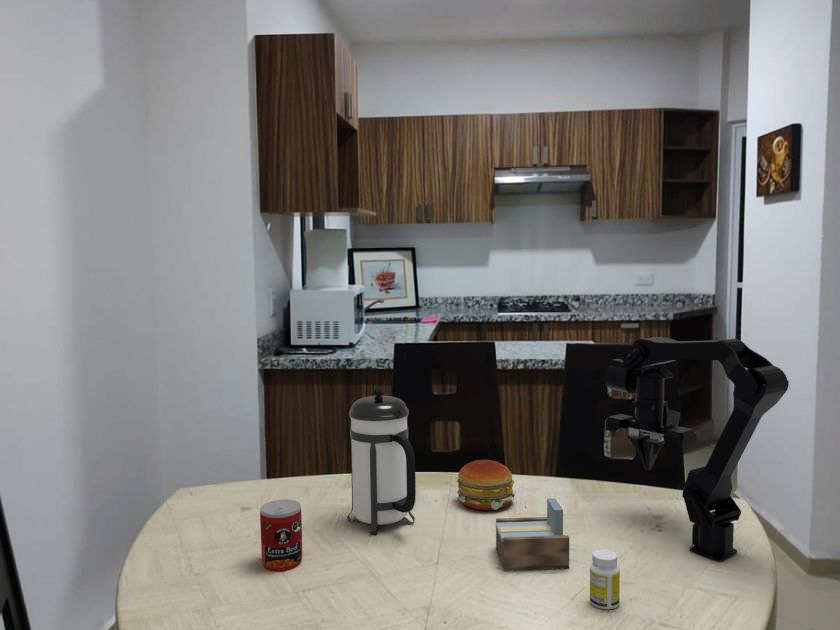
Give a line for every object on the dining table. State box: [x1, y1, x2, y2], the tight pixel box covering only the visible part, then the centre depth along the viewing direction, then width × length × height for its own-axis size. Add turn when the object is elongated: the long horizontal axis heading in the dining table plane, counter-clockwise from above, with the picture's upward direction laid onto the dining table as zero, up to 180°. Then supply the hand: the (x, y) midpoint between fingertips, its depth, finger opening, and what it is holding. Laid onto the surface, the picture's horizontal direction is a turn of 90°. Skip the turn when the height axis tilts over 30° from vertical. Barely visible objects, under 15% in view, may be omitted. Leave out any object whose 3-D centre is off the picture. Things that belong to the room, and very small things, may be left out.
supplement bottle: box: [589, 548, 621, 610], centre depth 114 cm, size 5×5×8 cm
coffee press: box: [346, 386, 417, 536], centre depth 147 cm, size 17×16×30 cm
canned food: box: [259, 498, 304, 572], centre depth 130 cm, size 8×8×11 cm
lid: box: [495, 497, 564, 543], centre depth 130 cm, size 12×7×6 cm, turn 93°
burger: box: [456, 459, 516, 511], centre depth 160 cm, size 14×14×10 cm
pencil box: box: [495, 516, 570, 572], centre depth 131 cm, size 12×10×6 cm
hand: (648, 469), depth 145 cm, fingers closed
